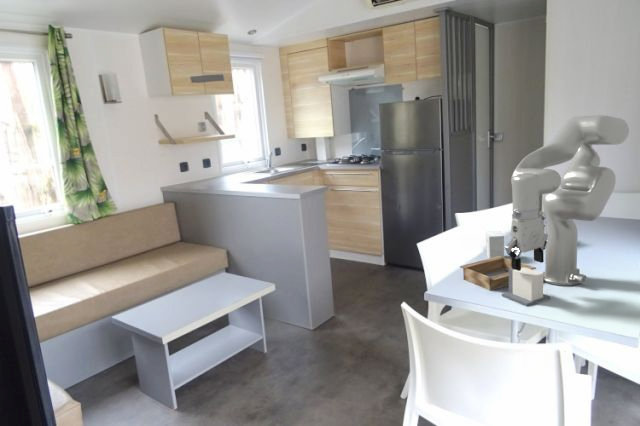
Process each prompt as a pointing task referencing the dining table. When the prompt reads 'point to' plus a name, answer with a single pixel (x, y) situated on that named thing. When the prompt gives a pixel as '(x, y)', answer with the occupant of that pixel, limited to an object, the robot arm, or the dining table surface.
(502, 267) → the wooden tray
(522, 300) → the pad
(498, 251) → the small box
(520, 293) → the box
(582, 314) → the dining table surface
